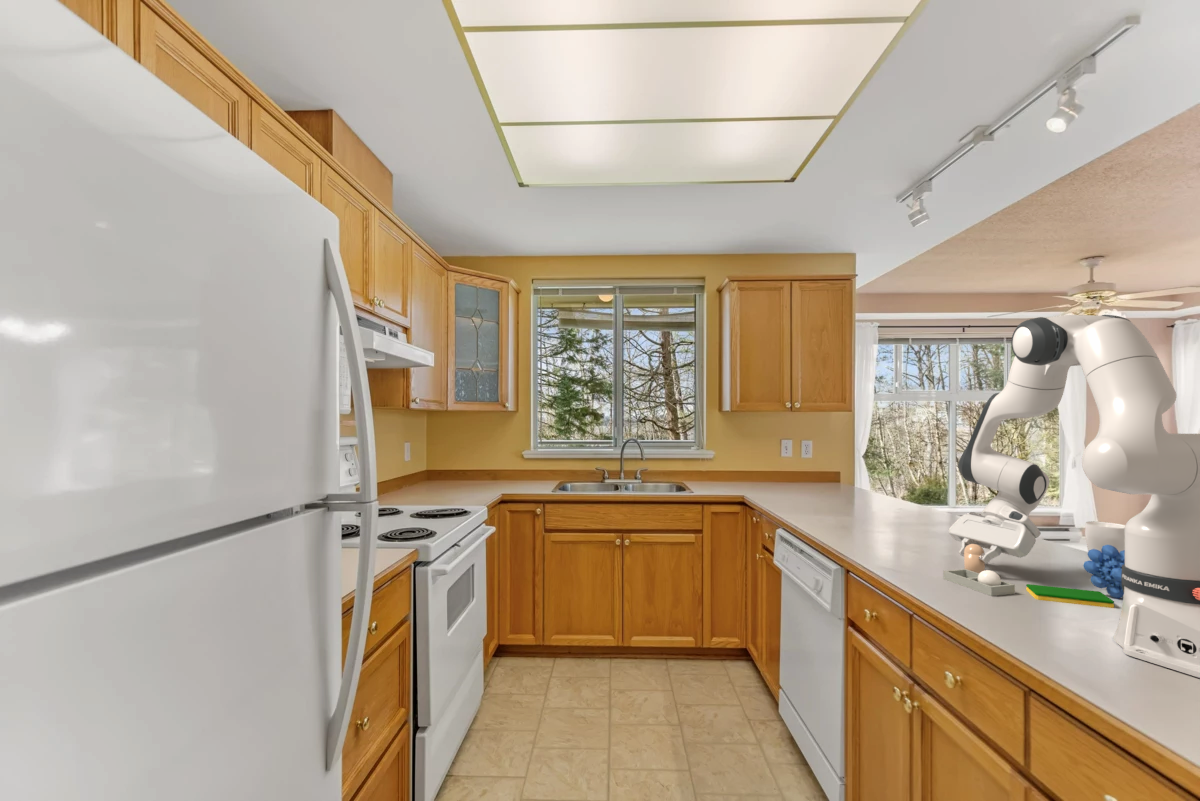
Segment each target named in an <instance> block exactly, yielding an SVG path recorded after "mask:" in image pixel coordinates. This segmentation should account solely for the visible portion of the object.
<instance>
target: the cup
mask: <svg viewBox="0 0 1200 801" xmlns="http://www.w3.org/2000/svg"><path fill="white" fill-rule="evenodd" d="M1125 525H1126V524H1121V523H1114V522H1108V521H1107V522H1106V521H1105V522H1104V521H1094V520H1093V521H1086V522H1085V527H1084V537H1085V542H1086V547H1087V552H1088V551H1089V550H1091V549H1096V550H1099V551H1101V550H1102V547H1103V546H1105V545H1111V546H1114V547H1115V548H1116V549H1117V550H1118V552H1119V553H1120V551H1123V550H1125V534H1124V529H1125ZM1101 552H1102V551H1101ZM1088 558H1089V557H1088ZM1089 560H1090V561H1092V560H1091V559H1090V558H1089Z"/></svg>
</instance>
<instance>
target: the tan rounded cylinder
mask: <svg viewBox="0 0 1200 801" xmlns="http://www.w3.org/2000/svg"><path fill="white" fill-rule="evenodd" d="M982 553H984V554H985V553H986V552H985V550H984V548H982V547H981V546H979V545H977V544H969V545H967V546H966V547H965V549H964V556H963V561H964V562H963V563H964V565H963V569H967V570H970V571H973V572H976V573H980V572H982V571H984V570H985V568H986V563H984V562H981V560H979V556H981V554H982Z"/></svg>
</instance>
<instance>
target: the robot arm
mask: <svg viewBox="0 0 1200 801" xmlns="http://www.w3.org/2000/svg"><path fill="white" fill-rule="evenodd" d="M1010 341H1011V344H1010V345H1011V349H1012V350H1011V351H1012V353H1013V355H1014V357H1013V359H1012V363H1011V365H1010V366H1011V367H1010V369H1009V372H1008V377H1007V381H1006V384H1005V386H1004V388H1003V389H1002V390H1001V391H1000V392H996V393H993V394H992V395H991V396H990V397H989V398H988V400H987V401H986V403H985V405H984V406H983V408H982V410H981V412H980V414H979V418H978V420H977V421H976V424H975V427H974V429H973V432H972V434H971V436H970V439H969V440H968V443H967V445H966V447H965V449H964V451H963V452H962V454H961V456H960V458H959V461H958V463H957V468H958V471H959V473H960V475H961V476H962V478H963V479H964V480H965V481H967V482H970V483H974V484H978V485H982V486H984V487H986V488H989V489H992V490H996V491H998V492H997V495H995V496H994V497H992V498H991V499H990V500H989V502H988V503H987V505H986V506H985V507H984V509H983V510H982V511H981V512H980V513H976V512H974V511H973V512H972V511H971V512H968V513H964V514H963V515H961V516H960V517H958V519H957V520H956V521H955V522H953V523H952V525H951V526H950V527H949V529H948V533H949V535H950V536H951V537H952V538H953V539H954V541H957V542H960V543H961V548H960V550H959V551H958V553H959V555H960V556H961V557H964V549H965V547H966V546H967V545H969V544H977V545H979V546H981V547H982V548H983V549H987V550H988V551H986V552H985V554H984V553H982V554H981V556H979V560H981V562H984V563H985V564H989V563H990V561H991V560H993V559H994V558H997V557H999V556H1000V555H1001V554H1005V555H1009V556H1012V557H1016V558H1020V559H1021V558H1023V557H1026V556H1027V555H1028V554H1030V552H1031V551H1032V549H1033V548H1034V546H1035V544H1036V541H1037V540H1036V538H1039V537H1040V536H1041V531H1040V529H1039V528H1038V526H1037V525H1036V524H1035V523H1034V522H1033V521H1032V520H1031V518H1030V517H1029V515H1030V514H1031V512H1033V511H1034V510H1035V509H1036V508H1037V507H1038V506H1039V504H1040V503H1041V501H1042V500H1043V498H1044V497H1045V495H1046V492H1047V490H1048V488H1049V485H1050V477H1049V476H1048V475H1047V473H1045V471H1043V470H1042V469H1041V468H1040V466H1039V465H1037V464H1035V463H1033V462H1030V461H1028V460H1025V459H1022V458H1019V457H1015V456H1011V455H1009V454H1005V453H1002V452H999V451H996V450H995V449H993V448H992V445H991V444H992V442H993V440H994V438H995V436H996V433H997V431H998V430H999V427H1000V424H1002V422H1003V420H1009V419H1011V420H1012V419H1030V418H1035V417H1041V416H1044V415H1046V414H1049V413H1050V412H1052V411H1053V410H1055V409H1056V408H1057V407H1058V406H1059V404H1060V403H1061V400H1062V398H1063V395H1064V393H1065V387H1066V383H1067V379H1068V373H1069V370H1070V368H1071V367H1074V366H1075V367H1076V366H1077V367H1078V366H1080V367H1081V369H1082V372H1083V375H1084V378H1085V380H1086V383H1087V384H1088V387H1089V389H1090V392H1091V394H1092V397H1093V399H1094V402H1095V406H1096V408H1097V412H1098V416H1099V426H1098V430H1097V432H1096V433H1097V434H1096V435H1095V437H1094V438H1093V439H1092V440H1091V441H1090V442H1089V443H1088V444H1087V445H1086V447H1085V448H1084V450H1083V453H1082V457H1081V466H1082V469H1083V472H1084V474H1085V476H1086V477H1087V478H1088V480H1089V481H1090V482H1091V483H1092V484H1093V485H1095V486H1096V487H1098V488H1100V489H1103V490H1107V491H1112V492H1118V493H1121V494H1128V495H1151V496H1150V499H1149V500H1148V503H1147V505H1146V506H1145V507H1144V508H1143V509H1142V511H1140V512H1139V513H1137V514H1135V515H1134V516H1133V517H1131V518H1129V520H1128V521H1126V523H1125V524H1124V525H1125V529H1124V534H1125V564H1123V565H1122V574H1121V583H1122V589H1123V592H1124V595H1123V597H1122V598H1123V599H1122V606H1121V613H1120V617H1119V621H1118V624H1117V628H1116V631H1115V633H1114V635H1113V638H1112V639H1113V641H1114V642H1115V643H1116V644H1117V645H1119V646H1120V647H1122V650H1123V651H1122V652H1123V653H1124V654H1125V655H1126V656H1130V657H1132V658H1136V659H1139V660H1141V661H1145V662H1148V663H1151V664H1155V665H1158V666H1161V667H1164V668H1168V669H1171V670H1174V671H1177V672H1180V673H1183V674H1186V675H1189V676H1193V677H1195V678H1199V679H1200V433H1169V432H1168V431H1167V430H1166V429H1165V427H1164V423H1163V414H1164V413H1166V412H1167V411H1169V409H1171V408H1172V406H1173V405H1174V404H1175V403H1176V400H1177V391H1176V390H1175V387H1174V385H1173V383H1172V381H1171V379H1170V378H1169V375H1168V374H1167V372H1166V370H1165V367H1164V365H1163V364H1162V362H1161V360H1160V358H1159V356H1158V354H1157V352H1156V351H1155V349H1154V348H1153V346H1152V345H1151V343H1150V342H1149V340H1148V338H1146V336H1145V335H1144V334H1143V332H1142V331H1141V330H1140V329H1139V328H1138V327H1137V326H1136V325H1135V324H1134V323H1133V322H1132V321H1131V320H1130V319H1128V318H1126V317H1124V316H1120V315H1119V316H1118V315H1114V314H1102V315H1093V314H1090V315H1089V314H1080V315H1079V314H1078V315H1077V314H1064V315H1055V316H1054V315H1053V316H1049V317H1043V316H1039V317H1034V318H1030V319H1027V320H1024V321H1021V323H1019V324H1018V325H1017V326H1016V328H1015V330H1014V331H1013V333H1012V336H1011V340H1010Z"/></svg>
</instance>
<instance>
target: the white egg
mask: <svg viewBox="0 0 1200 801" xmlns="http://www.w3.org/2000/svg"><path fill="white" fill-rule="evenodd" d="M1001 581H1002V579H1001V577H1000V575H999V574H998V573H997V572H995V571H994V570H989V569H986V570H984V571H982V572H980V573H979V575H978V582H980V583H983V584H986V585H989V586H998V585H1001Z"/></svg>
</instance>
